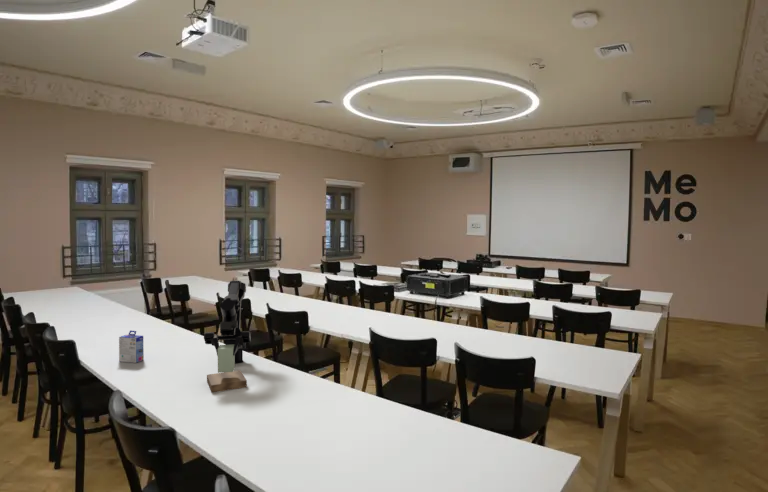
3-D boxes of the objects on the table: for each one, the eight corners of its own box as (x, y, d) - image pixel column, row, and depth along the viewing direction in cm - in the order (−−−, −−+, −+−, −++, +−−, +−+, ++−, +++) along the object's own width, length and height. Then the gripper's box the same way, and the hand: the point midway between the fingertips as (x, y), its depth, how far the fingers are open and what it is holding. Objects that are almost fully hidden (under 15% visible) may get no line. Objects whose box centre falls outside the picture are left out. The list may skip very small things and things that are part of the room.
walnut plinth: (240, 376, 212) (240, 370, 212) (246, 387, 200) (246, 380, 200) (206, 381, 206) (206, 374, 206) (211, 392, 194) (211, 385, 193)
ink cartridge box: (144, 359, 234) (144, 330, 233) (136, 363, 229) (135, 333, 228) (127, 358, 236) (126, 329, 235) (118, 361, 231) (117, 332, 230)
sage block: (220, 367, 205) (219, 344, 204) (234, 367, 206) (234, 344, 205) (217, 372, 199) (217, 349, 198) (232, 371, 200) (232, 348, 200)
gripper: (204, 314, 203) (199, 347, 193) (249, 312, 206) (247, 345, 196) (207, 327, 211) (203, 359, 202) (251, 326, 215) (249, 358, 205)
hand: (225, 355), depth 201 cm, fingers closed on sage block, 6 cm apart
